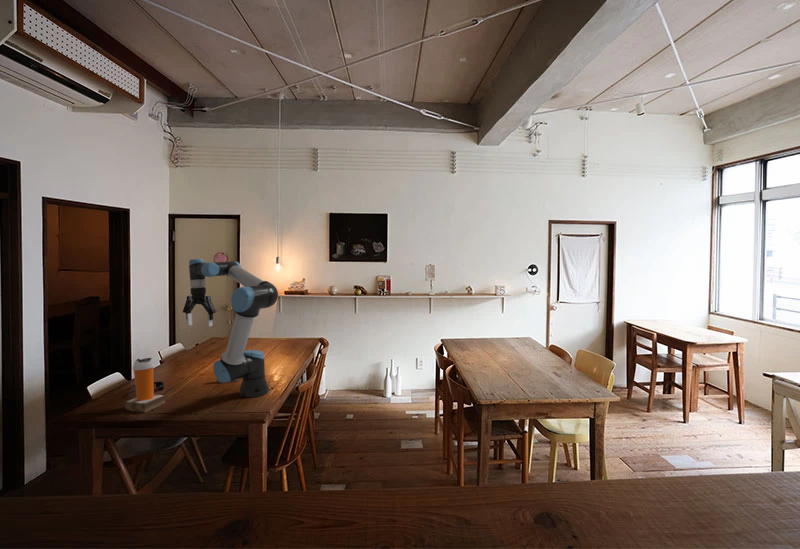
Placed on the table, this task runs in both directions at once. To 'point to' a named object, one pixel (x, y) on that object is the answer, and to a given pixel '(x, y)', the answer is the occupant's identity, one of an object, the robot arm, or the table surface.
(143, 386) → the shaker bottle
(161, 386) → the sunglasses
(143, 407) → the block
